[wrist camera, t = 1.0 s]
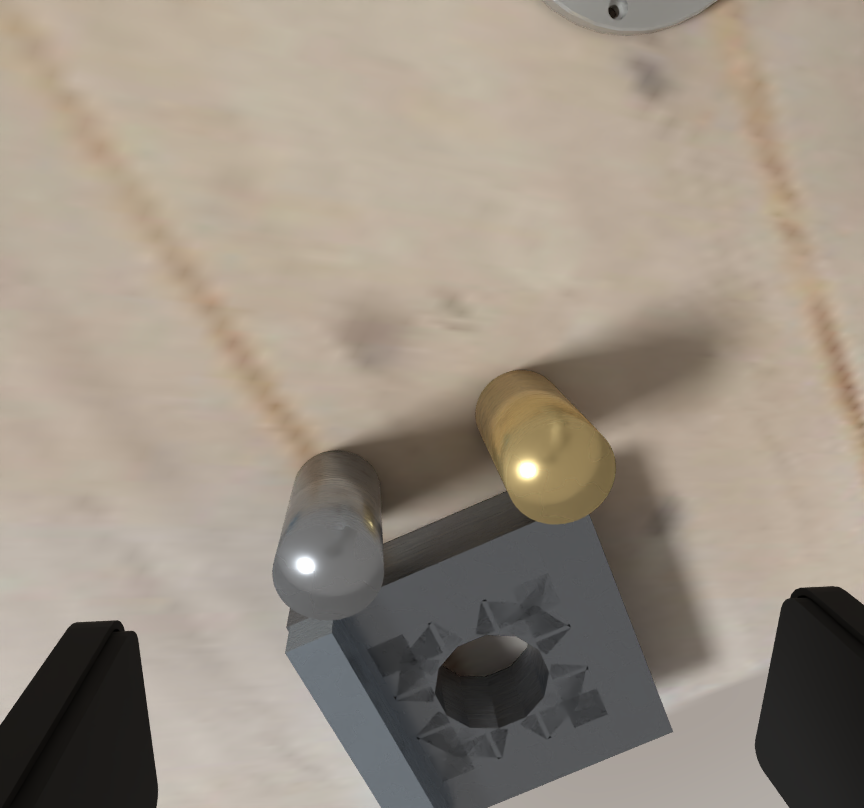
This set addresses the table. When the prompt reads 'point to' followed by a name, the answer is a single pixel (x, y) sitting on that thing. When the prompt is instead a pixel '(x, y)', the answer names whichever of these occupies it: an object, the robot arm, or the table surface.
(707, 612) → the table surface
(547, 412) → the brass cylinder plug
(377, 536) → the metal cylinder plug
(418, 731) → the jig
